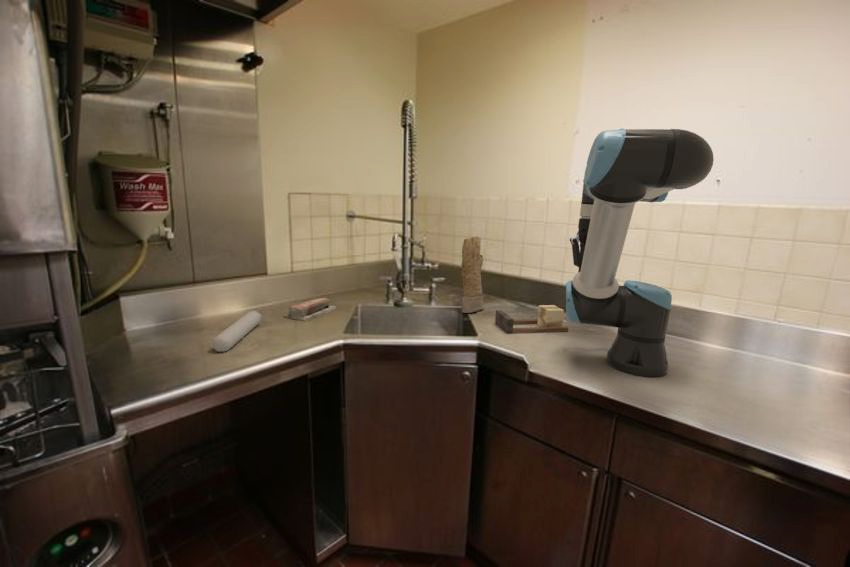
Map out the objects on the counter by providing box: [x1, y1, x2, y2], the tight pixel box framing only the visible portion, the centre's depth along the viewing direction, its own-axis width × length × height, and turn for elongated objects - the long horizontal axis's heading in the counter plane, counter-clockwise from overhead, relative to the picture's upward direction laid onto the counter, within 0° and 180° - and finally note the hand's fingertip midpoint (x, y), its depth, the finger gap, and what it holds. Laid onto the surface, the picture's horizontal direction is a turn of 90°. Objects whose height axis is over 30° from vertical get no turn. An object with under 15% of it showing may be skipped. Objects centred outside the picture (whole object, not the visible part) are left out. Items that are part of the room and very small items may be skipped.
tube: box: [212, 310, 262, 353], centre depth 120 cm, size 5×5×25 cm
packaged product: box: [283, 297, 337, 322], centre depth 148 cm, size 18×5×10 cm
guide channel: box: [494, 309, 569, 335], centre depth 137 cm, size 12×22×6 cm, turn 101°
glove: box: [460, 235, 485, 314], centre depth 158 cm, size 14×10×30 cm
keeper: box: [536, 304, 565, 327], centre depth 138 cm, size 6×6×7 cm
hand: (582, 286), depth 138 cm, fingers closed
